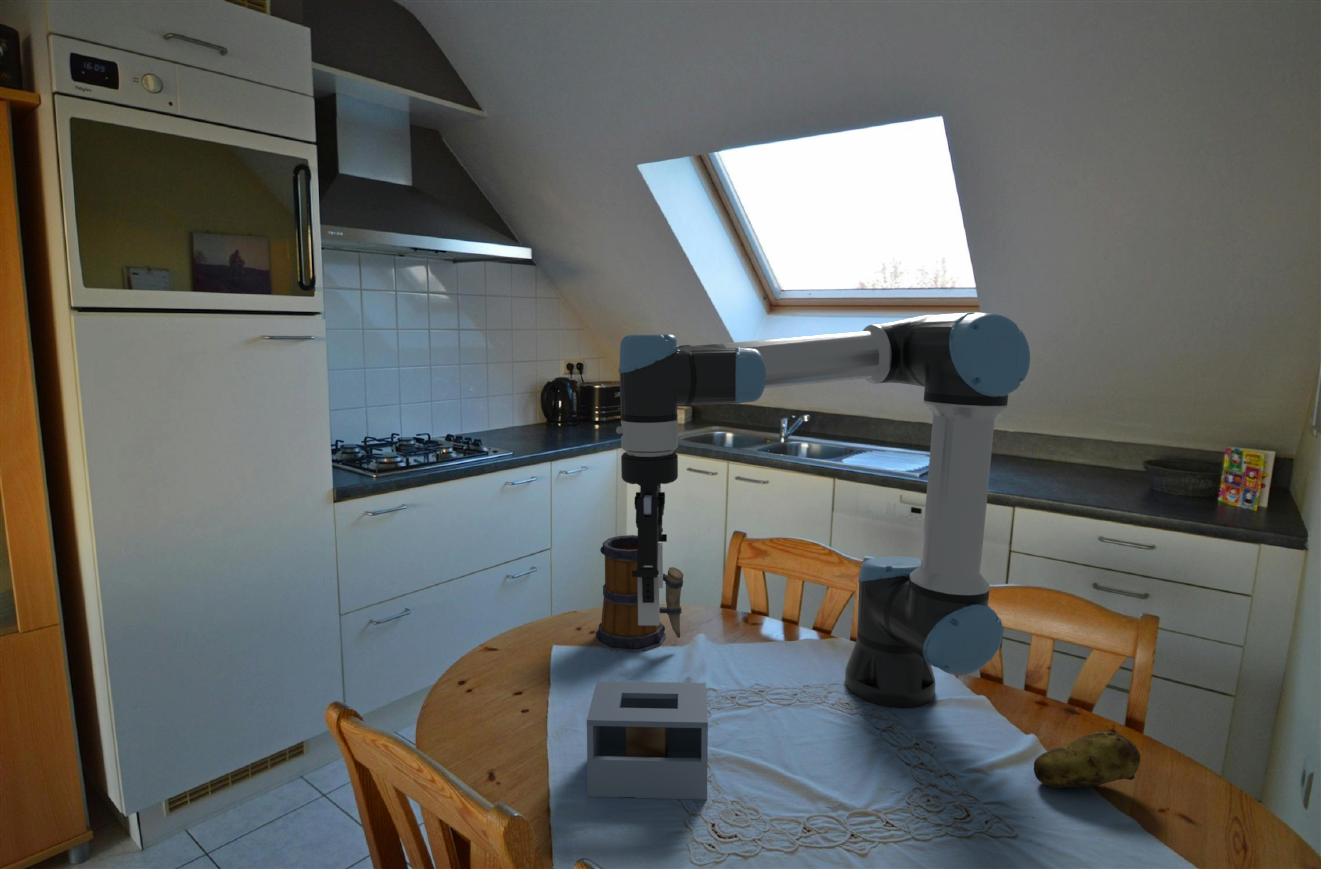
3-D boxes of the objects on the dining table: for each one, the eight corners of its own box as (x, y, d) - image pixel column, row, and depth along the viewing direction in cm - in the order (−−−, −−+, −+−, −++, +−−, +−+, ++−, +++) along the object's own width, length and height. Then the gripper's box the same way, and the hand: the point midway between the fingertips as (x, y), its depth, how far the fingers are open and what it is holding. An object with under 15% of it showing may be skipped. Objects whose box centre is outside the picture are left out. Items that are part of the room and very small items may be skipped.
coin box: (704, 752, 109) (705, 682, 108) (706, 799, 98) (707, 722, 97) (597, 750, 110) (596, 680, 108) (587, 796, 99) (586, 719, 97)
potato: (1028, 760, 108) (1032, 708, 107) (1130, 780, 103) (1135, 726, 102) (1033, 793, 100) (1038, 738, 99) (1144, 816, 95) (1150, 758, 94)
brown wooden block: (667, 764, 105) (668, 712, 104) (664, 775, 102) (664, 721, 101) (630, 760, 106) (629, 708, 105) (626, 771, 103) (625, 717, 102)
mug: (699, 638, 150) (700, 543, 147) (662, 664, 138) (662, 561, 135) (622, 618, 160) (621, 529, 158) (580, 641, 148) (579, 545, 146)
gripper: (628, 437, 110) (630, 574, 113) (611, 469, 86) (615, 642, 89) (678, 437, 110) (679, 574, 113) (676, 469, 85) (677, 643, 88)
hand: (651, 604), depth 101 cm, fingers open, 13 cm apart
